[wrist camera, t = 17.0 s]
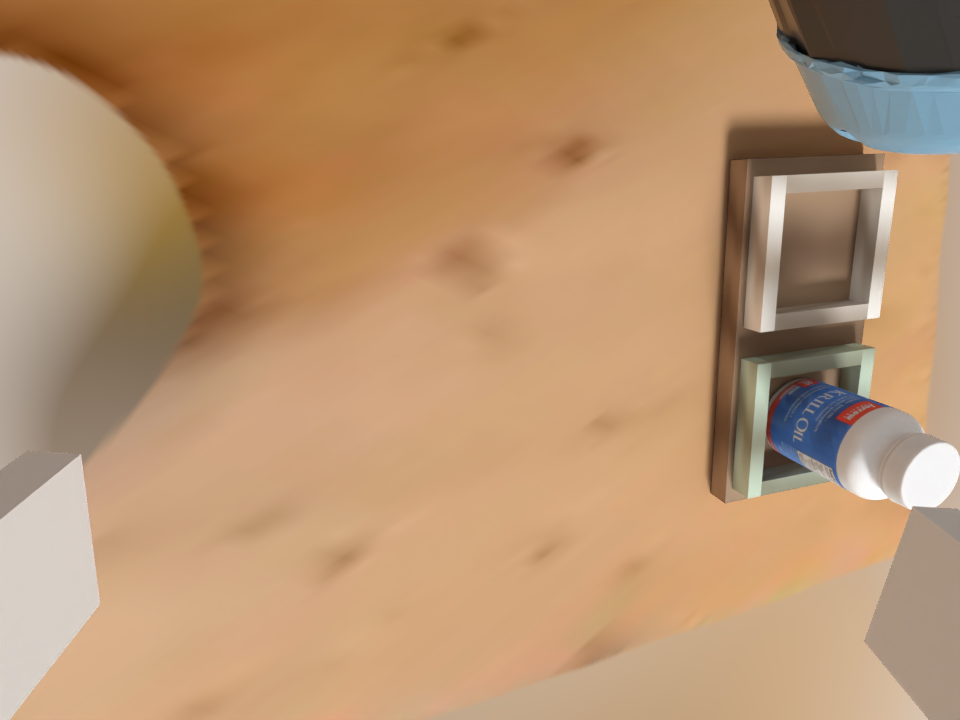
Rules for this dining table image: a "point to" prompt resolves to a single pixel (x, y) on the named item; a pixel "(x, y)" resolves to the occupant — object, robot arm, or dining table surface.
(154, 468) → the dining table surface
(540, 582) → the dining table surface
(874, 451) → the pill bottle
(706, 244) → the dining table surface
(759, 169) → the board
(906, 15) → the robot arm
